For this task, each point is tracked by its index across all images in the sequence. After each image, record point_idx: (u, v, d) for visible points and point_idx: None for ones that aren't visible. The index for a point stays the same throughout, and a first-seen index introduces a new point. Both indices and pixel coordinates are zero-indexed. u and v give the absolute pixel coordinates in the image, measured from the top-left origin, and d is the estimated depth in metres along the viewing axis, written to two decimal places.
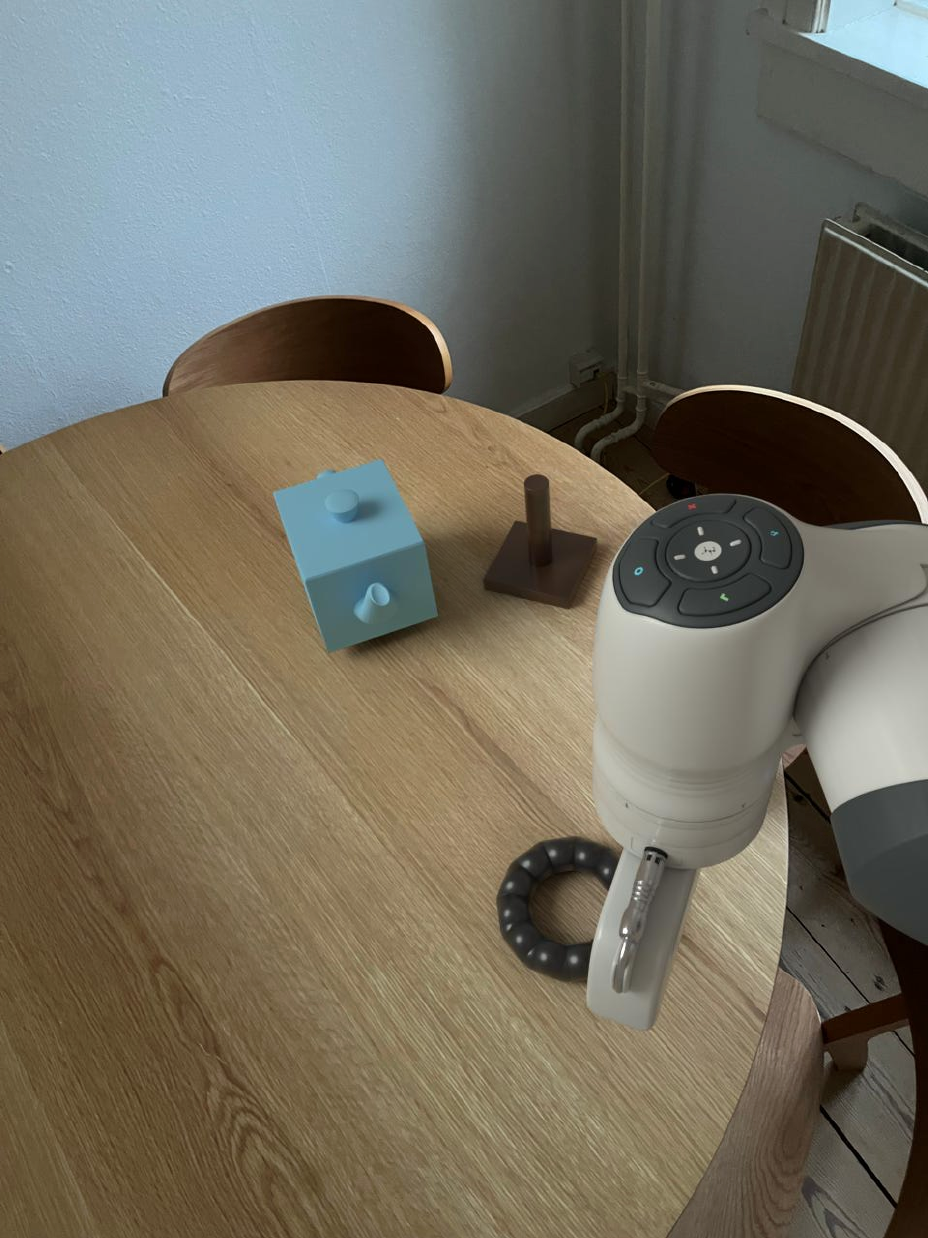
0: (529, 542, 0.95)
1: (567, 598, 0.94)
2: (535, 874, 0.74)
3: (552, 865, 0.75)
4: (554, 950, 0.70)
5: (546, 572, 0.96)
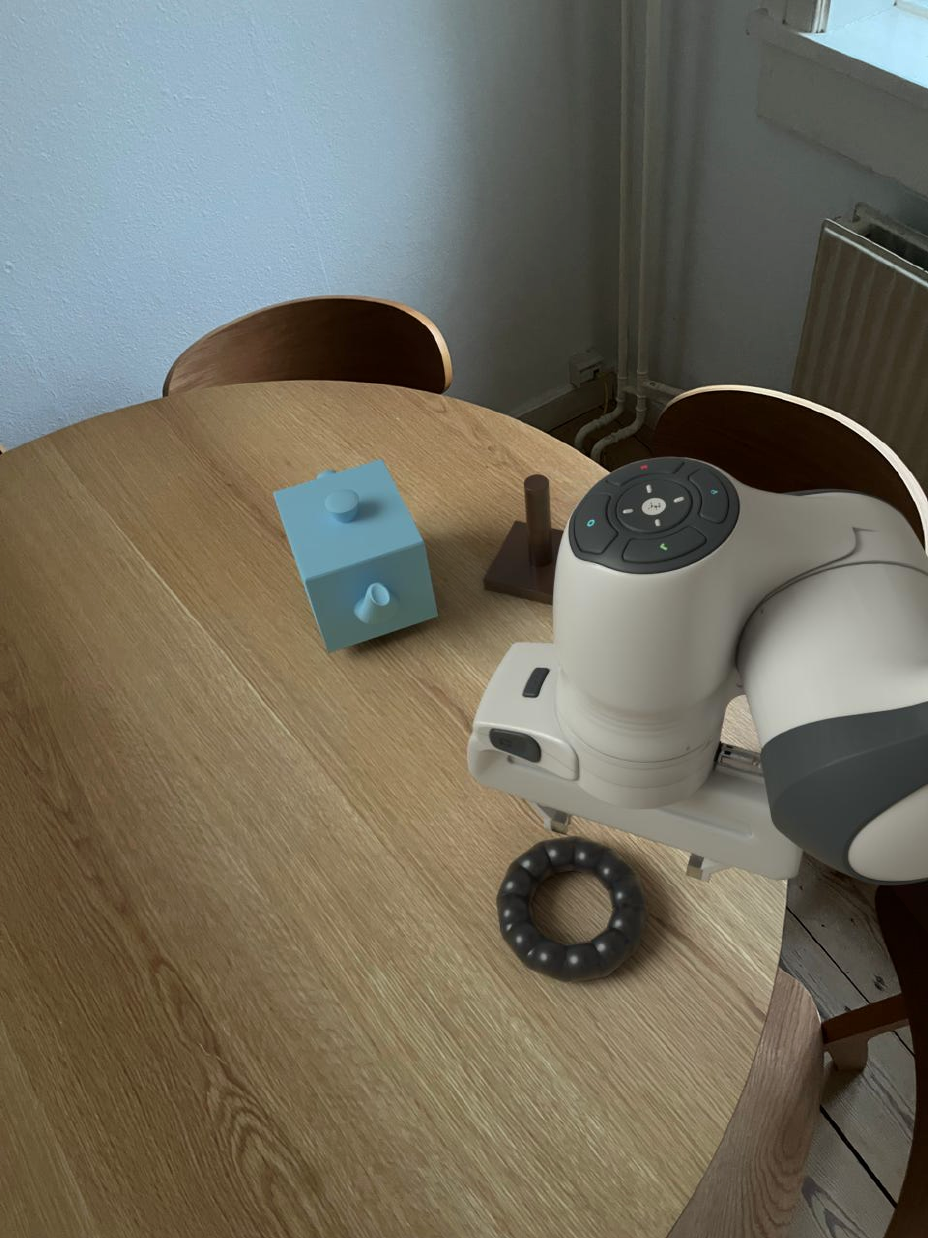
0: (529, 542, 0.95)
1: None
2: (535, 874, 0.74)
3: (552, 865, 0.75)
4: (554, 950, 0.70)
5: (546, 572, 0.96)
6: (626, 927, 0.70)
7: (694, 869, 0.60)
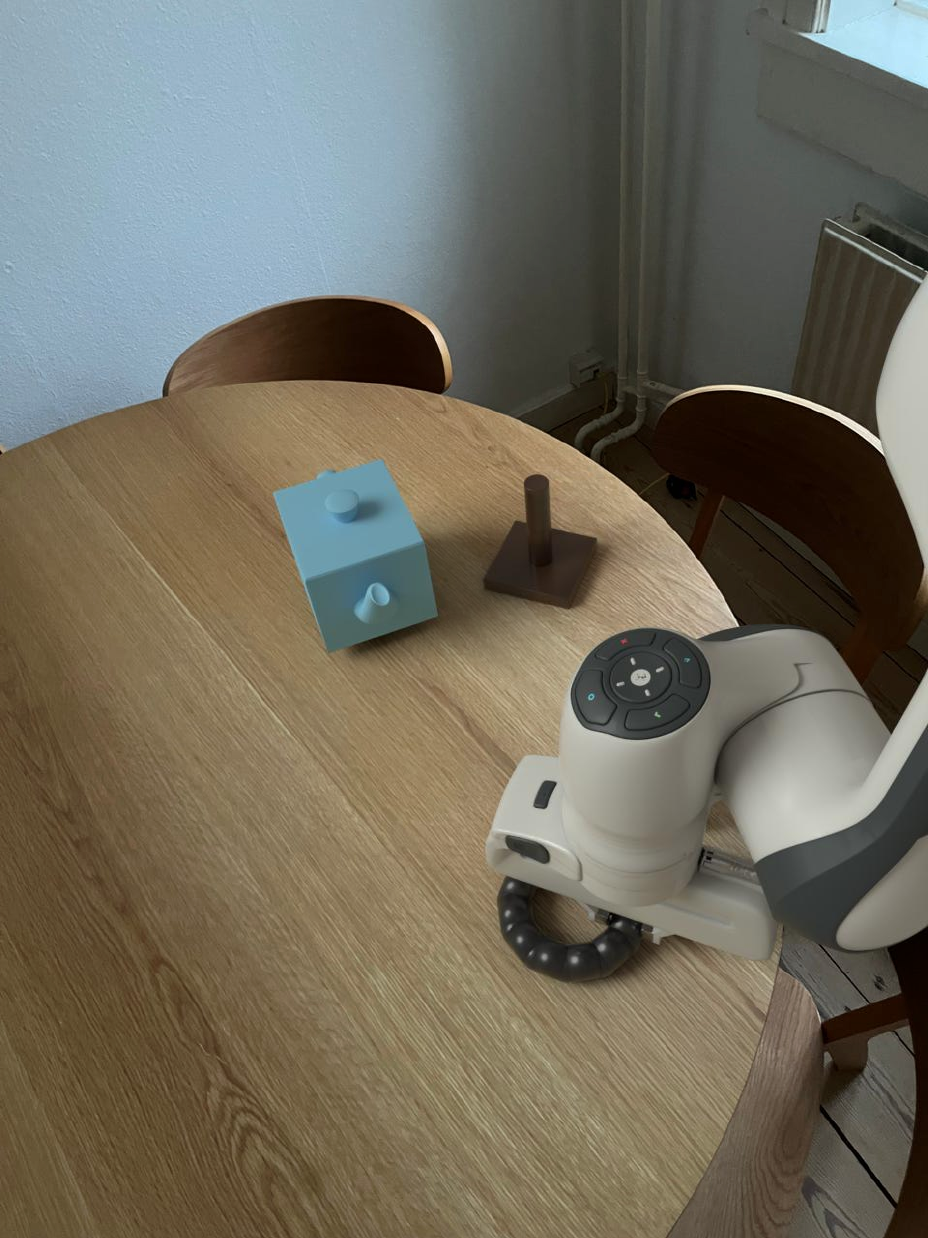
0: (529, 542, 0.95)
1: (567, 598, 0.94)
2: None
3: None
4: (555, 950, 0.70)
5: (546, 572, 0.96)
6: (627, 927, 0.70)
7: (646, 933, 0.69)
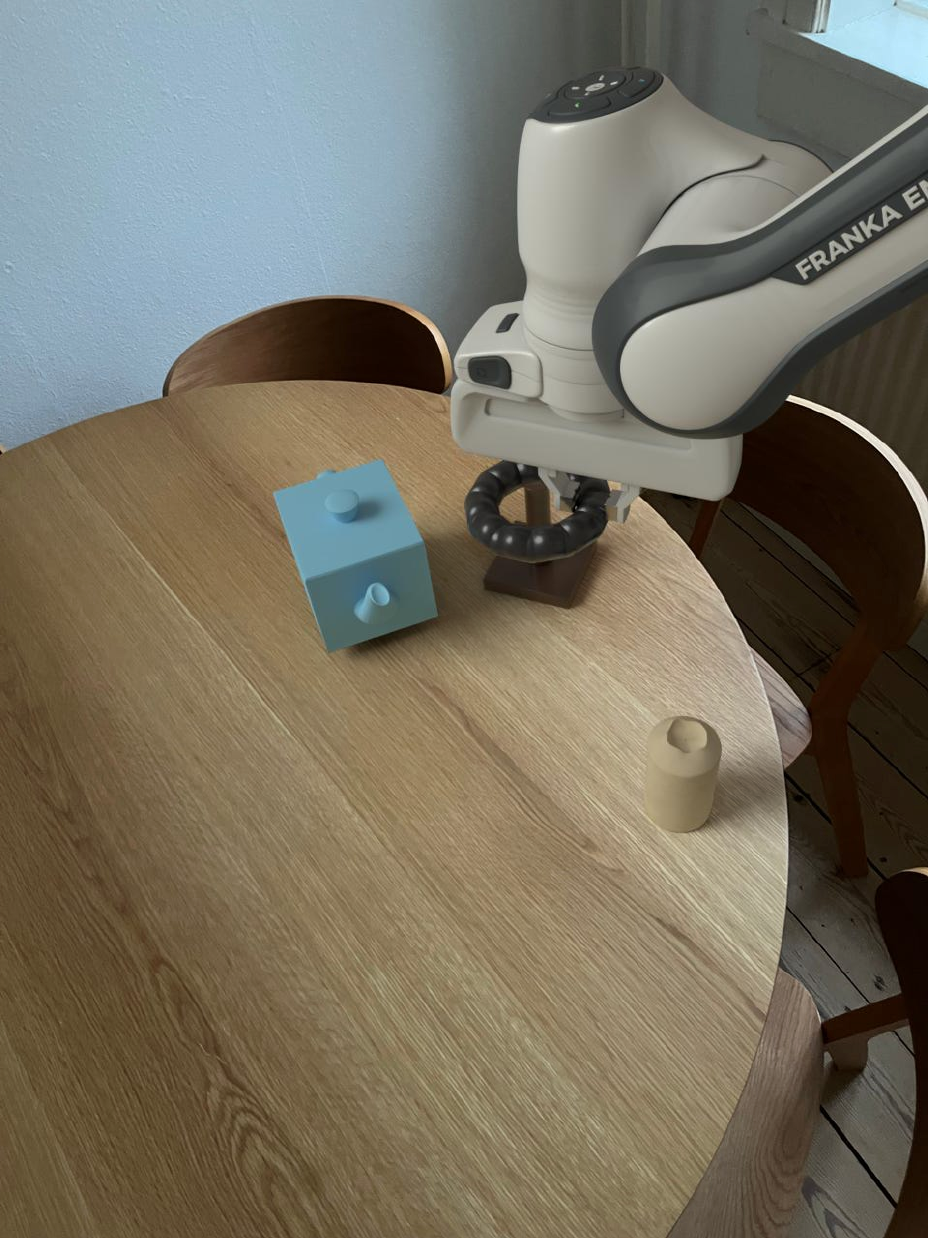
0: None
1: (567, 598, 0.94)
2: (503, 479, 0.75)
3: (520, 473, 0.75)
4: (519, 528, 0.70)
5: (546, 572, 0.96)
6: (591, 508, 0.71)
7: (610, 508, 0.70)
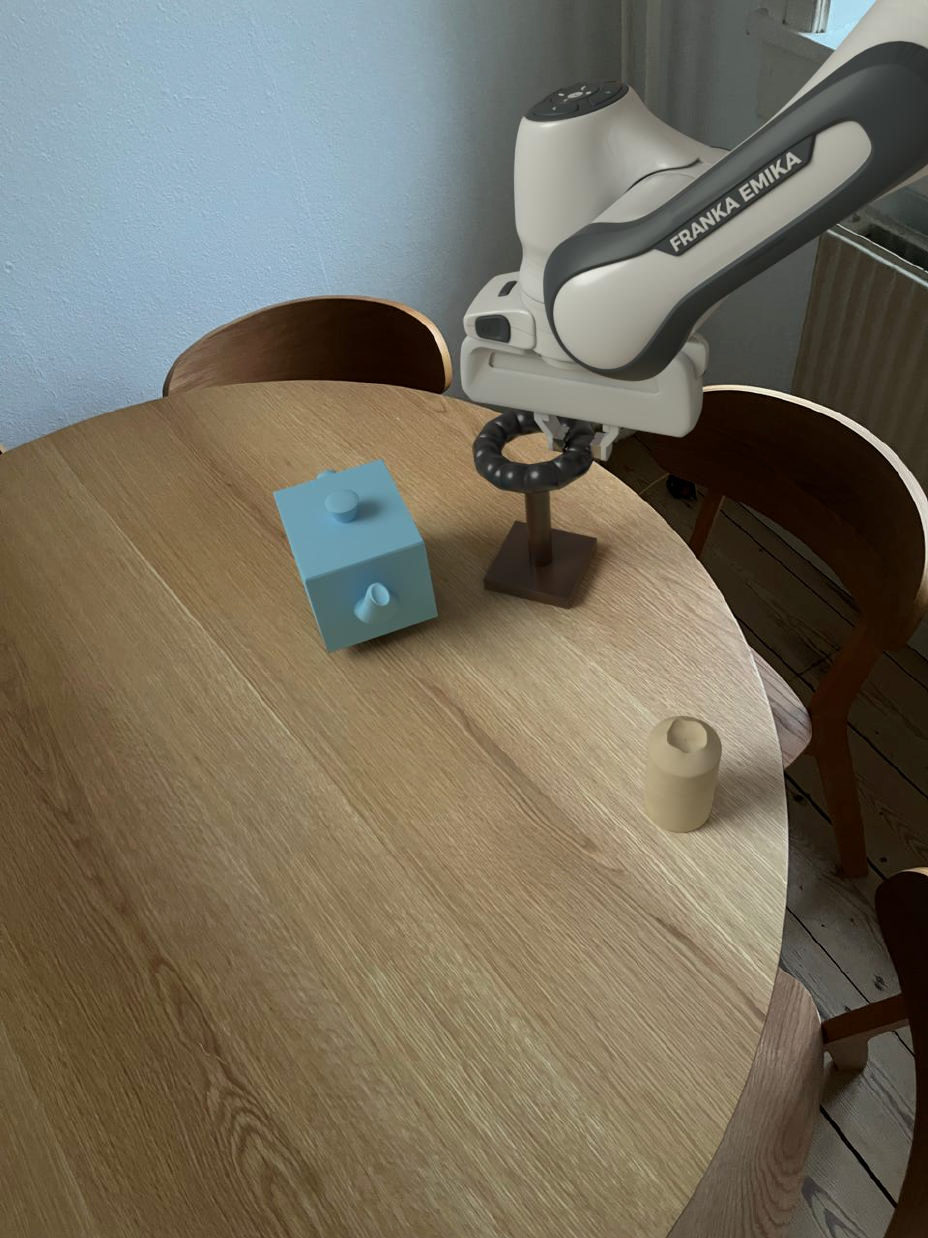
0: (529, 542, 0.95)
1: (567, 598, 0.94)
2: (505, 427, 0.88)
3: (519, 422, 0.89)
4: (518, 465, 0.84)
5: (546, 572, 0.96)
6: (578, 448, 0.84)
7: (595, 447, 0.83)
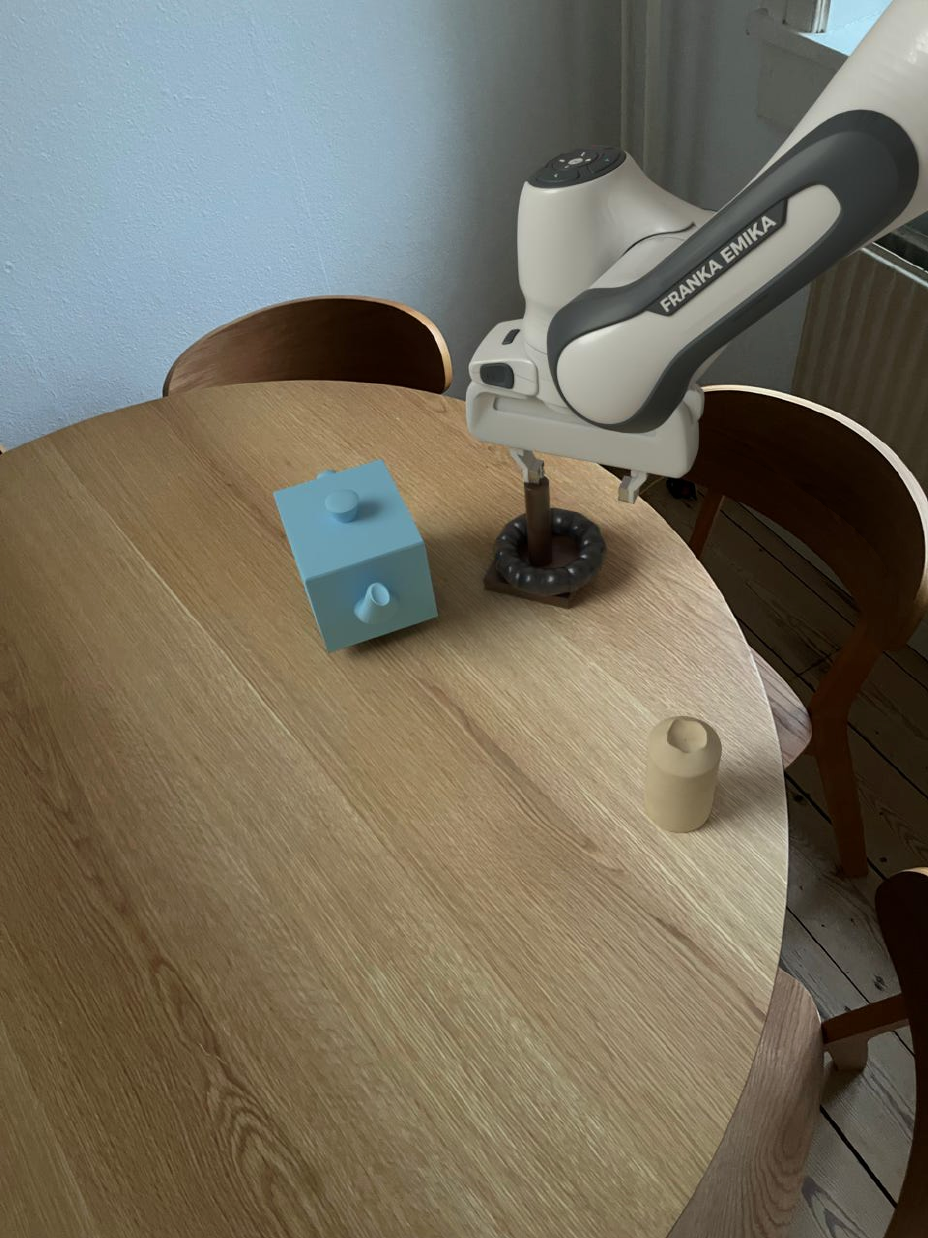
0: (529, 542, 0.95)
1: (567, 598, 0.94)
2: (522, 530, 0.97)
3: None
4: (535, 570, 0.93)
5: None
6: (590, 556, 0.93)
7: (623, 491, 0.85)
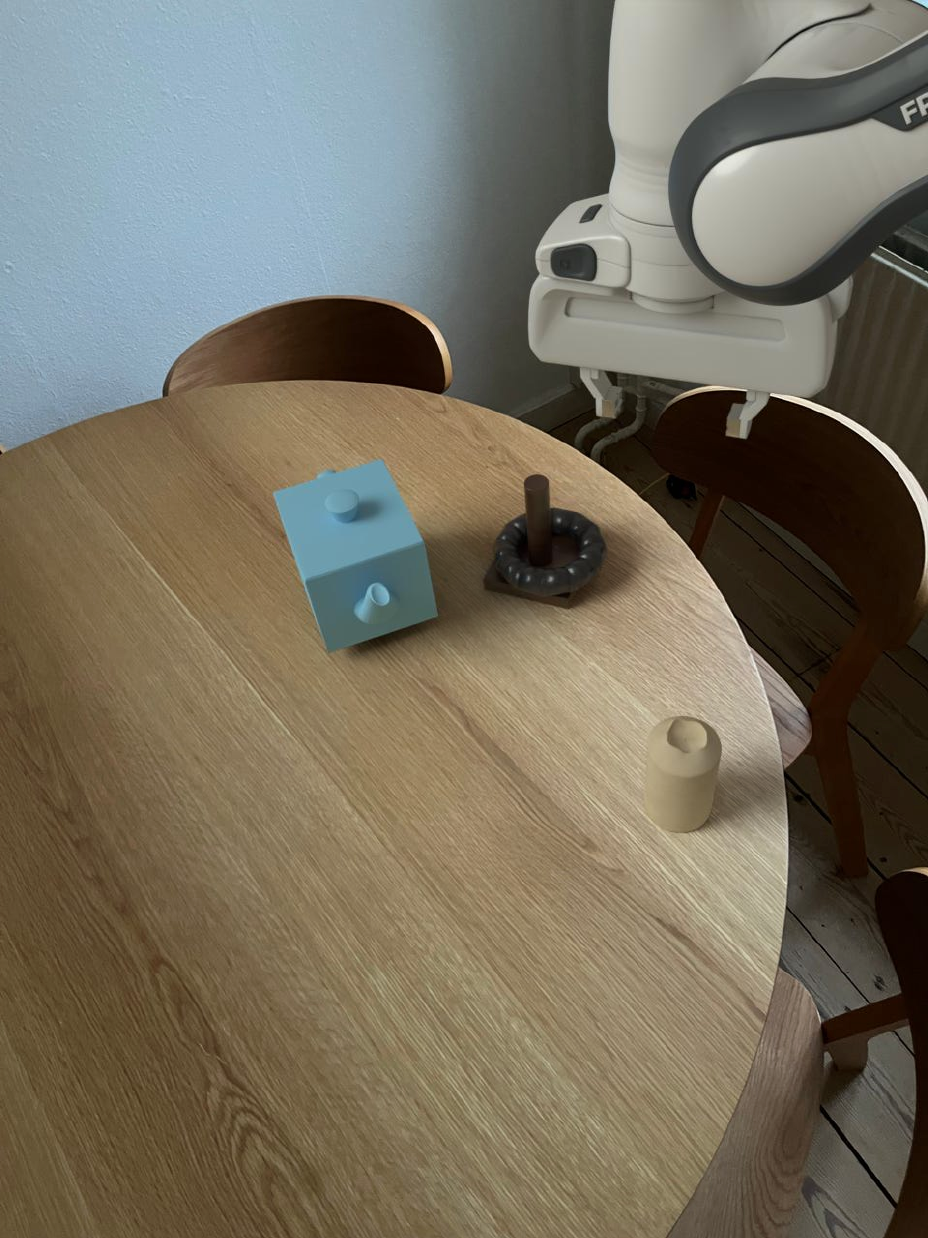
0: (529, 542, 0.95)
1: (567, 598, 0.94)
2: (522, 530, 0.97)
3: None
4: (535, 570, 0.93)
5: None
6: (590, 556, 0.93)
7: (733, 422, 0.66)
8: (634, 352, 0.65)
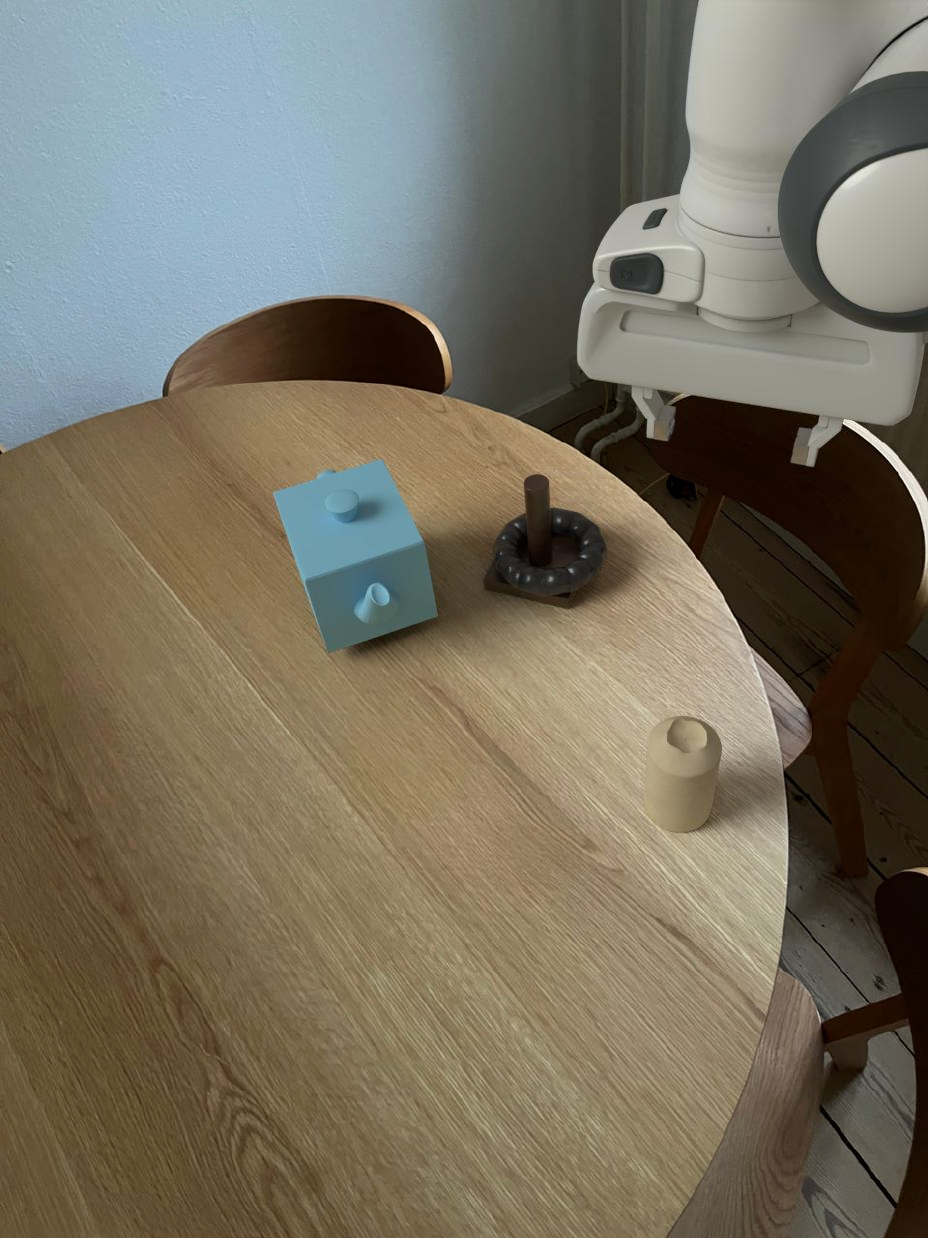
0: (529, 542, 0.95)
1: (567, 598, 0.94)
2: (522, 530, 0.97)
3: None
4: (535, 570, 0.93)
5: None
6: (590, 556, 0.93)
7: (800, 448, 0.61)
8: (696, 372, 0.59)
